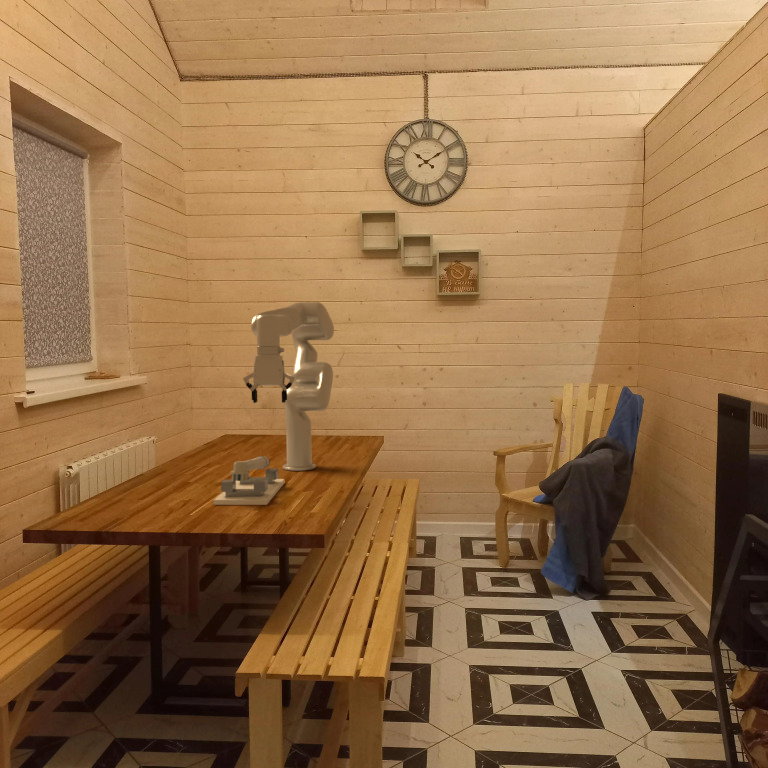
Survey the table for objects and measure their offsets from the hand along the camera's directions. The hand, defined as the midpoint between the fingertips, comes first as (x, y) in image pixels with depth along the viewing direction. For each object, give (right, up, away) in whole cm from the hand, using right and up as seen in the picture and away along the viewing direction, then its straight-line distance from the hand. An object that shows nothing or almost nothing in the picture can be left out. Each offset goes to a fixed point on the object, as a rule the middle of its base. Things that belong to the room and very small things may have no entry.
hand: (269, 402), depth 230 cm
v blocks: (-4, -28, -10) cm, 30 cm away
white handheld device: (-4, -23, -10) cm, 26 cm away
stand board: (-4, -29, -10) cm, 31 cm away
